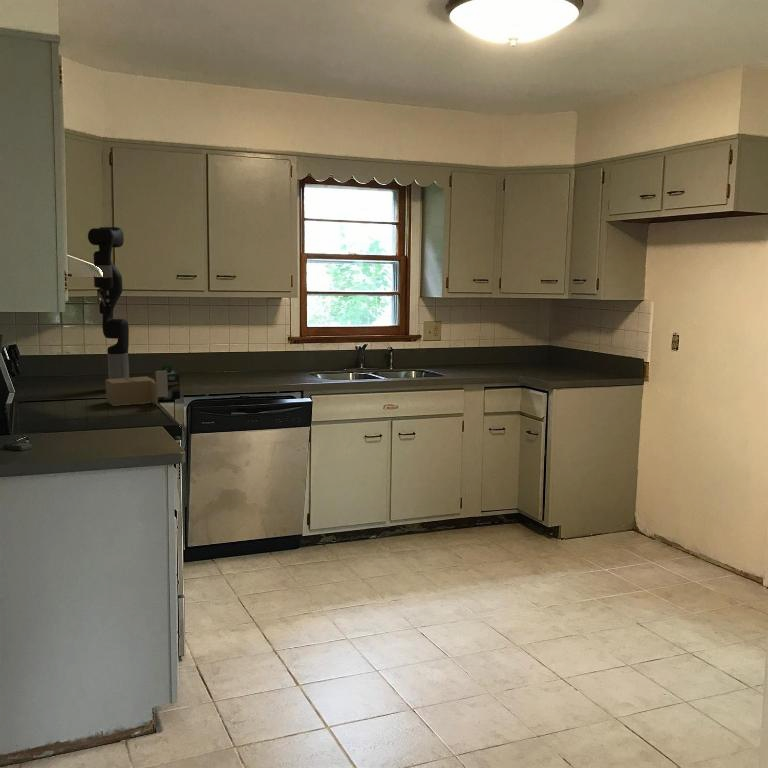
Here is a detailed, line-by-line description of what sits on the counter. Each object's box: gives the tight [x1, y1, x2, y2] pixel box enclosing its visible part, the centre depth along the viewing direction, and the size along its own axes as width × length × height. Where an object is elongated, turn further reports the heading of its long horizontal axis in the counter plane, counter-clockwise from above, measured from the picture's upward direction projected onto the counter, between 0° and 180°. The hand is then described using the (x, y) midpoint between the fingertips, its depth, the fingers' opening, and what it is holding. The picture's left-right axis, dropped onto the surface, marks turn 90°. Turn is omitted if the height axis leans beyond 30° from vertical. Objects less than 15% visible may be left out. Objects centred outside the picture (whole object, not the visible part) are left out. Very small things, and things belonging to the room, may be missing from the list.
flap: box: [151, 370, 168, 404], centre depth 353 cm, size 5×8×15 cm, turn 29°
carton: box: [105, 376, 155, 404], centre depth 358 cm, size 12×18×10 cm
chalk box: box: [152, 364, 181, 401], centre depth 370 cm, size 9×9×15 cm
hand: (104, 314), depth 353 cm, fingers open, 8 cm apart
